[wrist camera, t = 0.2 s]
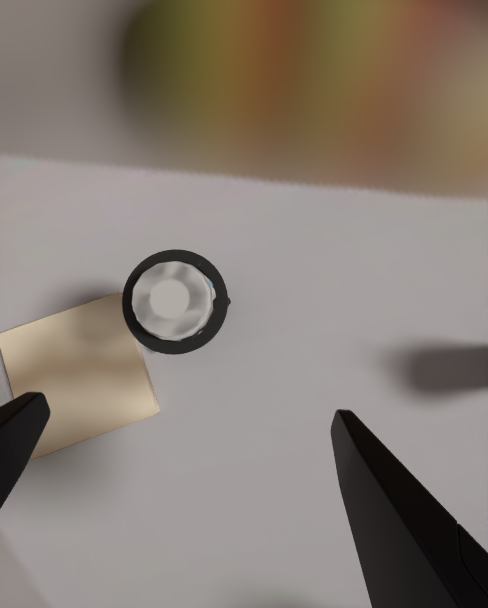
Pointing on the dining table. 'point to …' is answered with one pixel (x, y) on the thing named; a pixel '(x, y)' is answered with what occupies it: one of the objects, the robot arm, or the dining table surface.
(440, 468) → the dining table surface
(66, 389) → the birch pad
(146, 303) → the push button
